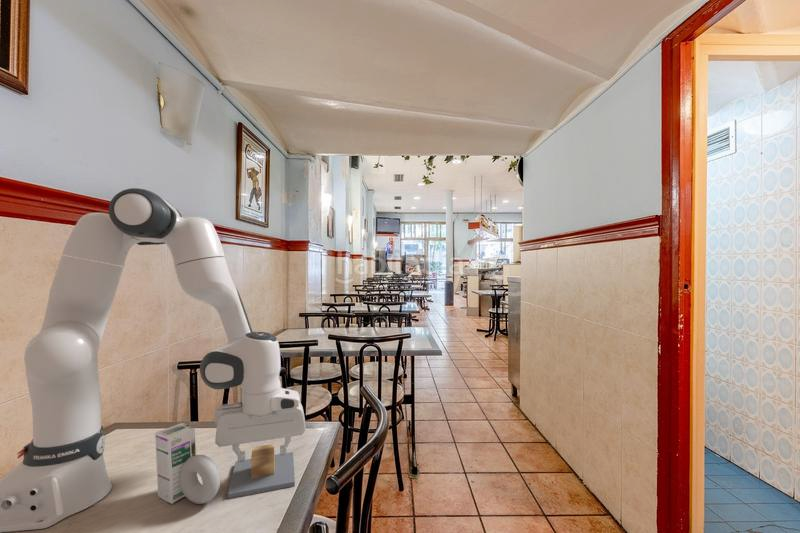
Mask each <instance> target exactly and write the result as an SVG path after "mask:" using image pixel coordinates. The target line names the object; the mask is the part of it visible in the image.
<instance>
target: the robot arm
mask: <svg viewBox="0 0 800 533" xmlns="http://www.w3.org/2000/svg"><path fill="white" fill-rule="evenodd" d="M109 202H110V203H109V205H108V213H106V212H89V213H86V214H83V215H82V216H81V217H80V218H79V219H78V221H77V222H76V223H75V225H74V227H73V228H72V231H71V232H70V234H69V236H68V239H67V240H66V242H65V244H64V247H63V250H62V254H61V256H60V258H59V261H58V264H57V268H56V271H55V273H54V277H53V280H52V283H51V287H50V289H49V293H48V294H49V295H48V301H47V306H46V310H45V314H44V318H43V321H42V325H41V328H40V330H39V333H38V334H36V335H35V336H34V337H32V339H30V341H29V342H28V343H27V346H26V347H25V350H24V357H23V358H24V360H23V361H24V364H25V365H24V366H25V374H26V383H27V387H28V392H29V398H30V402H31V403H30V404H31V410H32V411H31V412H32V439H31V442H29V443H27V444H25V445H24V446H23V448H22V449H21V450H20V451H19V452H17V453H16V455H18V456H17V457H16V459H20V458H22V457H23V459H22V462H20V463H19V464H17V465H16V466H15V467H14V468H13V469H11V470H10V471H8V473H6V474H5V475H4V476H3V477H1V478H0V533H9V532H18V531H29V530H30V531H32V530H41V529H46V528H49V527H51V526H54V525H55V524H57V523H59V522H61V521H62V520H63V519H66V518H68V517H70V516H73V515H74V514H76V513H79V512H81V511H83V510H85V509H87V508H89V507H91V506H93V505H95V504H96V503H98V502H99V501H100V500H102V499H104V497H106V496H107V495H109V493H110V492H111V490H112V487H113V484H112V482H111V480H110V477H109V475H108V471H107V468H106V463H105V458H104V452H105V445H106V444H105V442H106V441H105V432H104V429H105V428H104V426H102V409H101V408H102V407H101V403H102V402H101V399H102V398H101V388H100V375H99V362H98V361H99V359H98V356H99V355H98V354H99V348H100V347H101V345H102V341H103V337H104V333H105V329H106V326H107V324H108V321H109V320H108V319H109V317H110V313H111V311H112V310H111V309H112V306H113V303H114V299H115V298H116V293H117V290H118V287H119V283H120V279H121V276H122V273H123V270H124V266H125V263H126V259H127V256H128V253H129V251H130V250H131V248H133V246H134V245H138V246H149V245H150V246H151V245H152V246H153V245H155V246H157V245H159V246H160V245H164V244H165V245H166V246H167V247H168V248H169V251H170V253H171V257H172V260H173V265H174V269H175V273H176V277H177V280H178V283H179V284H180V287H181V288H182V290H183V291H184V293H186V294H187V295H188V296H190V297H192V298H194V299H195V300H199V301H202V302H204V303H206V304H208V305H210V306H212V307H213V308H214V309H215V310H216V312H217V314H218V315H219V318H220V321H221V323H222V326H223V329H224V331H225V335H226V338H227V344H226V345H223V346H220V347H218V348H216V349H213V350H211V351H210V352H208V353H207V354H206V355H204V357H203V358H202V360H201V361H200V364H199V375H200V378H201V380H202V381H203V383H204V384H205V385H206V386H207V387H209V388H211V389H213V390H226V389H232V388H236V387H240V388H241V402H240V401H239V402H234V403H229V404H228V403H225V404H224V403H223V404H221V405H220V406H219V407H217V408H216V409H215V411H214V414H213V415H214V422H215V423H216V430H215V437H214V438H215V439H214V440H215V442H214V443H215V445H216V446H217V447H219V448H221V447H222V448H223V447H227V446H228V447H229V446H232V447H231V450H232V451H233V452H234V453H235V455H236V456H237V461H238V462H242V461H245V460H246V451H245V450H241V448H240V445H242V444H249V443H250V444H251V443H256V442H263V441H264V442H265V441H269V440H276V439H283V438H284V443H283V444H282V445H281V444H280V445H279V454H280V455H286V453H287V448H288V446H289V444H290V443H291V441H292V438H291V437H297V436H298V437H299V436H302V435H304V434H305V433H306V431H307V430H306V418H305V413H304V407H303V405H302V403H301V398H300V393H299V392H298V391H297V390H295V389H294V390H293V389H287V388H284V387H282V384H281V383H282V382H281V379H280V373H281V367H282V365H281V351H280V350H281V349H280V344H279V340H278V338H277V337H276V335H273V334H272V333H269V332H266V331H253V329H252V326H251V323H250V320H249V317H248V314H247V312H246V309H245V306H244V303H243V300H242V297H241V295H240V293H239V291H238V288H237V287H236V285H235V282H234V280H233V278H232V275H231V272H230V270H229V266H228V263H227V260H226V259H227V258H226V255H225V251H224V248H223V245H222V243H221V240H220V237H219V235H218V232H217V231H216V228H215V226H214V224H213V223H212V222H211V221H210V220H209V219H208V218H206V217H205V218H204V217H202V216H187V217H184V216H182V213H180V211H179V210H178V209H177V208H176V207H175V206H174V205H173V204H171V202H170V201H168V200H167V199H165V198H163V197H161V196H160V195H158V194H157V193H155V192H153V191H150V190H147V189H144V188H137V187H135V188H133V187H132V188H126V189H123V190H121V191H119V192H118V193H116V194H115V195H114V196H113V197H112V199H111V200H110V201H109Z"/></svg>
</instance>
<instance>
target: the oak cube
mask: <svg viewBox="0 0 800 533" xmlns="http://www.w3.org/2000/svg"><path fill="white" fill-rule="evenodd" d="M275 455H276V454H275V444H274V443H272V444H270V443H269V444H265V445H264V444H263V445H259V446H253V447H252V451H251V456H250V457H251V458H250V459H251V475H252V478H258V477H263V476H269V475H274V467H275Z"/></svg>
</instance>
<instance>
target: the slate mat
mask: <svg viewBox="0 0 800 533" xmlns="http://www.w3.org/2000/svg"><path fill="white" fill-rule="evenodd" d="M274 455H275V467H274V475H269V476H263V477H258V478H252V475H251V458H248V459H245V461H242V462H238V460H236V461H235V464H234V467H233V471H232V476H231V480H230V485H229V488H228V493H227V499H234V498H239V497H243V496H244V497H245V496H248V495H249V496H250V495H254V494H259V493H261V494H262V493H265V492H270V491H276V490H281V489H286V488H291V487H295V485H296V482H295V480H296V479H295V465H294V464H295V463H294V461H295V460H294V451H291V452H286V455H280V453H277V454H274Z"/></svg>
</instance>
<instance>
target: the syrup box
mask: <svg viewBox="0 0 800 533" xmlns="http://www.w3.org/2000/svg"><path fill="white" fill-rule="evenodd" d="M195 431H196V429H195V426H193V425H192V424H188V423H185V422H180V423H178V424H175V425H173V426H170V427H167V428H165V429H162V430H158V431H156V432H155V434H154V438H155V455H156V456H155V459H156V461H155V462H156V477H157V478H156V479H157V497H159V498H160V499H162V500H163V501H165V502H167V503H169V504H170V505H173V504H174V503H176V502H177V501H179V500H181V499H183V498H186V496H185V495H184V493H183V491H182V489H181V486H180V479H179V477H180V470H181V468H182V466H183V464H184V463H185V462H186V461H187V459H189V458H190V457H192V456H195V455H197V454H196V452H197V450H196V432H195Z"/></svg>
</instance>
